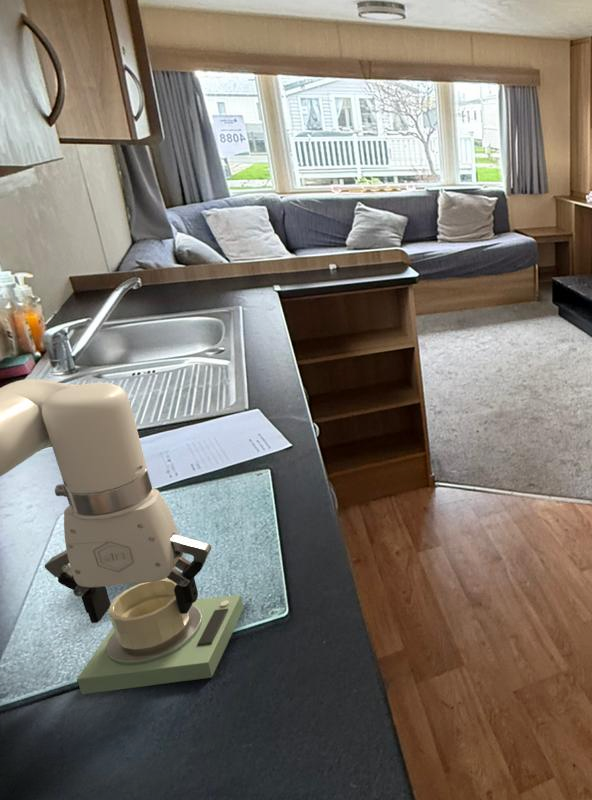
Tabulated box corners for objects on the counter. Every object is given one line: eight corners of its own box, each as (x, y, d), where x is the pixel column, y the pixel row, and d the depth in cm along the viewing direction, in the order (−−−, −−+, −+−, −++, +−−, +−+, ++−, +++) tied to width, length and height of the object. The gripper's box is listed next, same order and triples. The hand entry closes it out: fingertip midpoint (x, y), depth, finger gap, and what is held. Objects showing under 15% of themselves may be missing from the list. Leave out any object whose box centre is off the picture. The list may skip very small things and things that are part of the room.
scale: (81, 694, 76) (75, 677, 75) (131, 621, 87) (126, 605, 86) (212, 677, 78) (207, 660, 77) (244, 608, 89) (240, 592, 88)
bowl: (107, 657, 77) (96, 624, 75) (137, 613, 84) (127, 582, 82) (175, 648, 78) (166, 616, 77) (199, 606, 85) (190, 575, 83)
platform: (90, 671, 76) (88, 667, 76) (131, 611, 85) (130, 607, 85) (183, 659, 78) (182, 655, 77) (214, 602, 87) (213, 598, 87)
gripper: (2, 515, 69) (47, 641, 75) (181, 502, 72) (210, 624, 78) (44, 479, 76) (83, 597, 82) (206, 468, 79) (232, 583, 85)
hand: (145, 610), depth 80 cm, fingers open, 9 cm apart
